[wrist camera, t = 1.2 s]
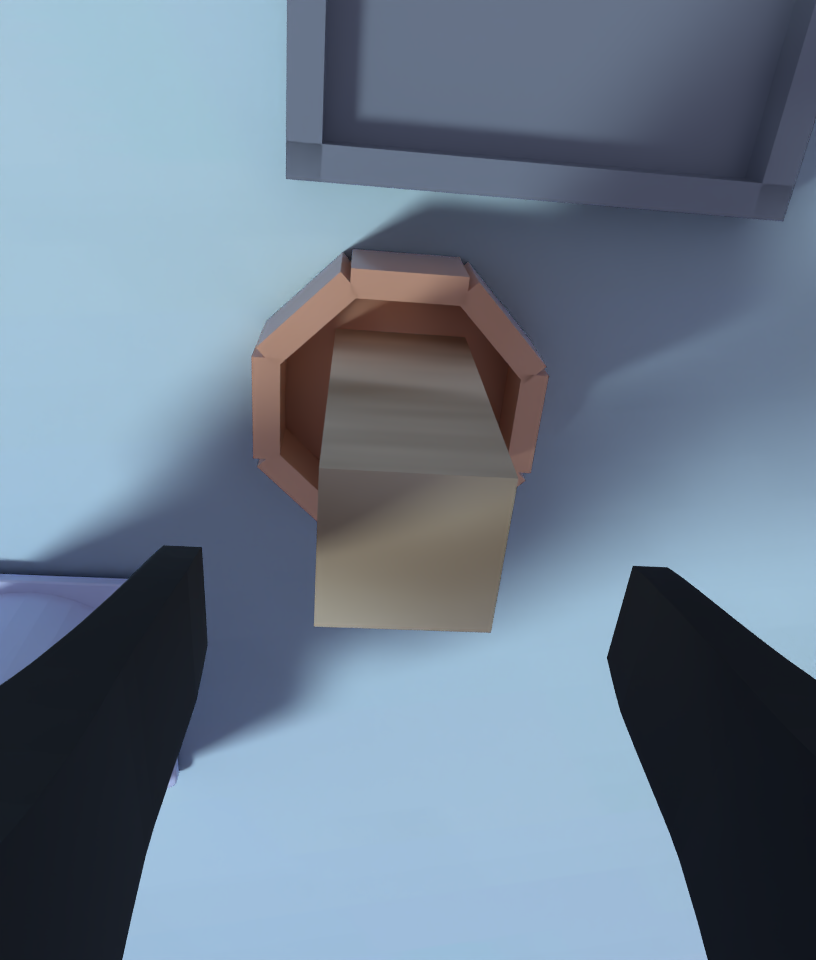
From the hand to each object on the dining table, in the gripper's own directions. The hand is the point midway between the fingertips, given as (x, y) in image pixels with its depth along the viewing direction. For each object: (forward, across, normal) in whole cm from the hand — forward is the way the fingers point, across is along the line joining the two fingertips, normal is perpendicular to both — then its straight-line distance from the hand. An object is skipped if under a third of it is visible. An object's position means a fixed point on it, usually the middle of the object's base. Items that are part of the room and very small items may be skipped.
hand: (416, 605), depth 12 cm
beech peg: (+10, 0, 0) cm, 10 cm away
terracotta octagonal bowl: (+10, 0, 0) cm, 10 cm away
